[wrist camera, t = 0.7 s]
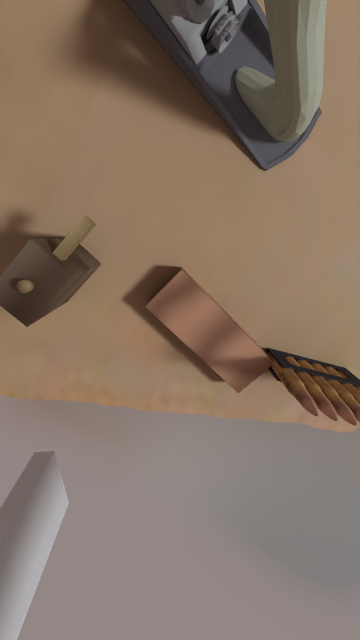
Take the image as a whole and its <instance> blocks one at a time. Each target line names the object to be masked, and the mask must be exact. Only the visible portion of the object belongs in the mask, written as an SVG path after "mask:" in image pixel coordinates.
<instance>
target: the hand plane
mask: <svg viewBox="0 0 360 640" xmlns="http://www.w3.org/2000/svg"><path fill="white" fill-rule="evenodd" d="M124 1H125V2H126V4H127V5H128V6H129V7H130V8H131V10H132V11H133V12H134V13H135V15H136V16H137V17H138V18H139V19H140V21H141V22H142V23H143V24H144V25H145V27H146V28H147V29H148V30H149V32H150V33H151V34H152V35H153V36H154V38H155V39H156V40H157V41H158V42H159V44H160V45H161V46H162V47H163V49H164V50H165V51H166V52H167V53H168V55H169V56H170V57H171V58H172V59H173V61H174V62H175V63H176V64H177V66H178V67H179V68H180V69H181V70H182V72H183V73H184V74H185V75H186V76H187V78H188V79H189V80H190V81H191V83H192V84H193V85H194V86H195V87H196V89H197V90H198V91H199V92H200V93H201V95H202V96H203V97H204V98H205V99H206V101H207V102H208V103H209V104H210V106H211V107H212V108H213V109H214V110H215V112H216V113H217V114H218V115H219V116H220V118H221V119H222V120H223V121H224V123H225V124H226V125H227V126H228V127H229V129H230V130H231V131H232V132H233V133H234V135H235V136H236V137H237V138H238V140H239V141H240V142H241V143H242V144H243V146H244V147H245V148H246V149H247V150H248V152H249V153H250V154H251V155H252V157H253V158H254V159H255V160H256V161H257V163H258V164H259V165H260V166H261V168H262V169H263V170H264V171H266V170H268V169H270V168H272V167H273V166H275V165H277V164H279V163H280V162H282V161H284V160H285V159H287V158H289V157H290V156H291V155H293V154H294V152H295V151H296V150H297V149H298V148H299V147H300V146H301V145H302V143H303V142H304V141H305V140H306V139H307V138H308V136H309V135H310V133H311V131H312V129H313V127H314V125H315V123H316V121H317V119H318V118H319V116H320V114H321V110H320V108H319V107H318V106H319V103H320V99H321V95H322V90H323V64H324V36H325V12H326V4H327V0H264V4H265V11H266V16H265V14H264V13H263V11H262V9H261V8H260V6H259V4H258V2H257V1H256V0H124ZM266 17H267V18H266Z"/></svg>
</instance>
